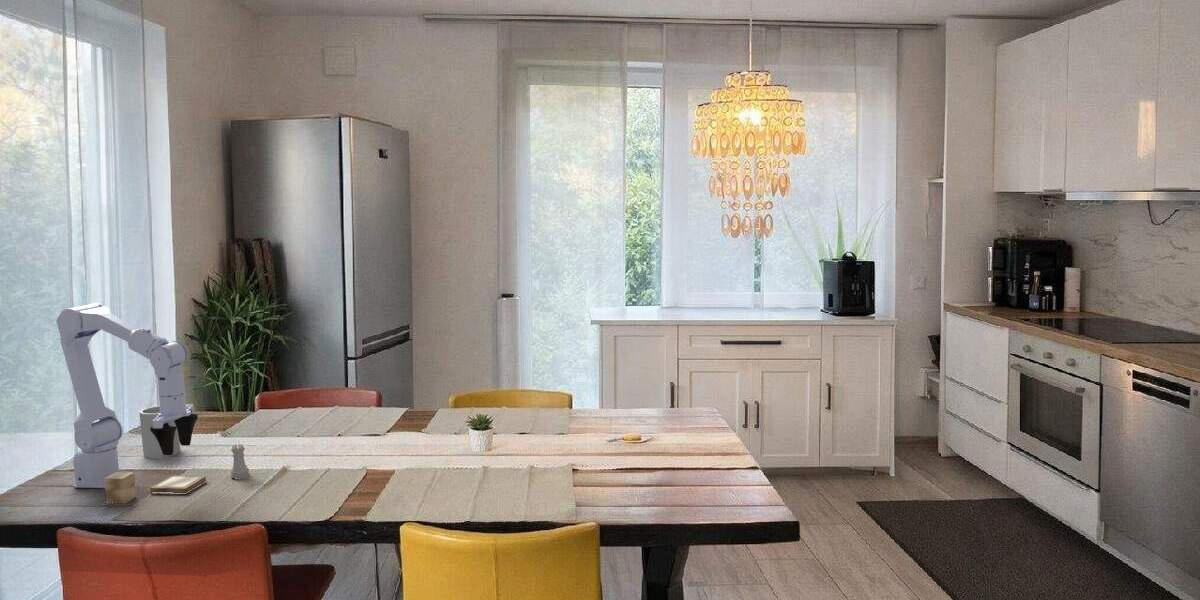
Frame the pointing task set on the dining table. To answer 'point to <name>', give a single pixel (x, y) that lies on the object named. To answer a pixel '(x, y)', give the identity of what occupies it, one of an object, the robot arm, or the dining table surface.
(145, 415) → the cup
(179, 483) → the picture frame
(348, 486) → the dining table surface
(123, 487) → the oak block
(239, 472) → the rook chess piece
